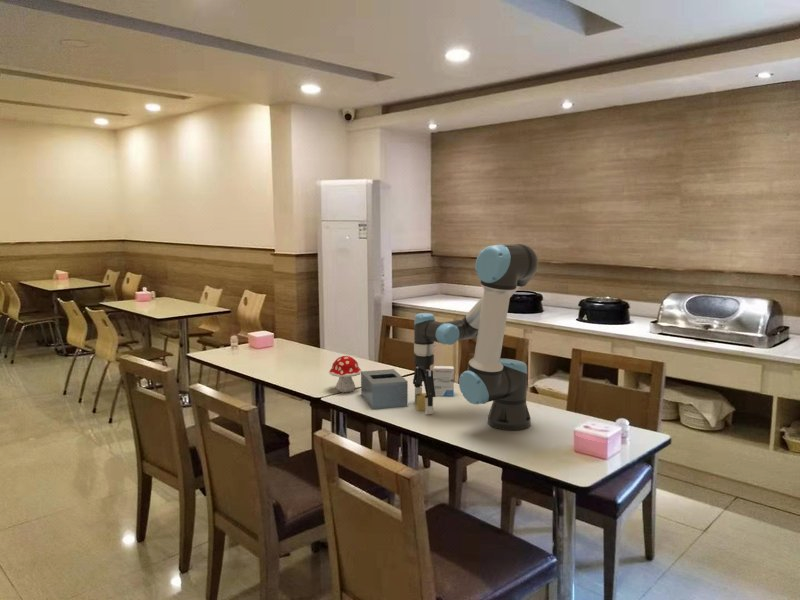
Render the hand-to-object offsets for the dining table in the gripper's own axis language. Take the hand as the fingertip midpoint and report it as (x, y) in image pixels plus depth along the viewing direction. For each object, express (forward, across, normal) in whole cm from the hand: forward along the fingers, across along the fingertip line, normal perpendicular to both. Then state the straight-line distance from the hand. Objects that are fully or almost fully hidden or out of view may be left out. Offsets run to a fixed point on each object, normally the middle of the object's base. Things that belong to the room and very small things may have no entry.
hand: (423, 408), depth 228 cm
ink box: (0, +16, -14) cm, 21 cm away
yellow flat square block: (0, 0, 0) cm, 0 cm away
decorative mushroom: (0, +33, +24) cm, 41 cm away
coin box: (0, +15, +12) cm, 19 cm away
